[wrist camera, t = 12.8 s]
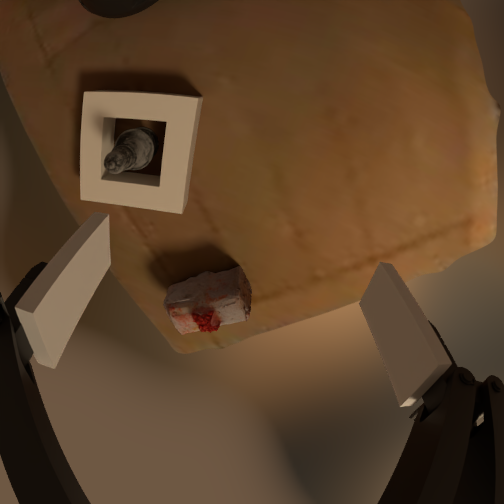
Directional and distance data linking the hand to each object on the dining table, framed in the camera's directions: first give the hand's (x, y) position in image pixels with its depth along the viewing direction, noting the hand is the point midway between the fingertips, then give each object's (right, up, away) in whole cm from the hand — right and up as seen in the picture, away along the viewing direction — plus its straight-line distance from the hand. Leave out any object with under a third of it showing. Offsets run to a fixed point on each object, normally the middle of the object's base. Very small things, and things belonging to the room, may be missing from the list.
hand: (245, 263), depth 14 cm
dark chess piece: (-16, +16, +26) cm, 34 cm away
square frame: (-16, +16, +26) cm, 34 cm away
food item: (-7, -5, +40) cm, 41 cm away
